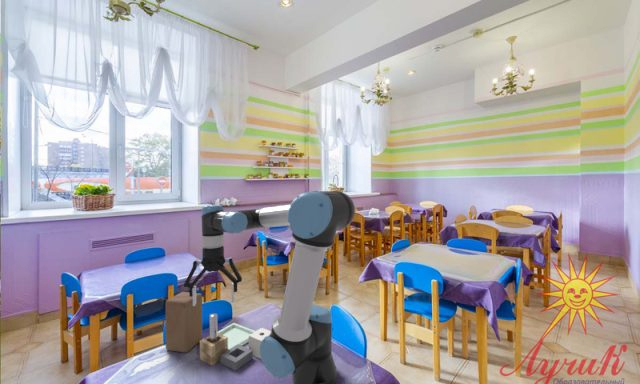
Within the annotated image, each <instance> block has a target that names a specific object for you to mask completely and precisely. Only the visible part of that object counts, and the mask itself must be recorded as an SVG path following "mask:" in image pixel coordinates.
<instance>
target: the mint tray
mask: <svg viewBox="0 0 640 384" xmlns="http://www.w3.org/2000/svg"><path fill="white" fill-rule="evenodd" d="M255 331H256V330H254V329H251V328H249V327H246V326H244V325H240V324H238V323H236V322H233V323H231V324H229V325H227V326H225V327H224V328H222V329H220V330H218V333H219V334H221V335H224V336H226V337H228V350H229V349H231V348H232V347H234V346H236V345H237V344H239V345H241V346H243V347H244V345H246V344H247V343H249V335H251V334H252V333H254V332H255Z"/></svg>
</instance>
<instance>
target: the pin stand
mask: <svg viewBox="0 0 640 384" xmlns="http://www.w3.org/2000/svg"><path fill="white" fill-rule="evenodd" d="M253 357H254V356H253V351H252V350H250V349H249V347H248V348H247V347H245V346H244V345H243V346H241V345H239V344H237V345H236V346H234V347H232V348H231V349H229V350H228V351H226V352H225V353H223V354H222V355H221V360H220V364H221V365H223V366H225V367H227V368H229V369H231V370H232V371H235V372H237V371H238V370H239V369H241V368H242V367H243V366H244V365H246V364H247V363H249V362H250V361H251V360H253Z"/></svg>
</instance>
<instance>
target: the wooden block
mask: <svg viewBox="0 0 640 384" xmlns="http://www.w3.org/2000/svg"><path fill="white" fill-rule="evenodd" d="M202 339H203V294H202V293H199V292H198V293H197V292H196V305H195V306H193V296H192V297H190V295H189V292H188V291H181V292H179V293H178V294H175V295H174V296H171V297H170V298H169V299H167V300H166V301H165V349H166V350H167V351H172V352H180V353H188V352H190V351H191V350H192V349H193V348H194V347H195V346H196V345H198V344H200V340H202Z"/></svg>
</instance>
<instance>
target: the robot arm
mask: <svg viewBox="0 0 640 384" xmlns="http://www.w3.org/2000/svg"><path fill="white" fill-rule="evenodd" d="M355 215H356V206H355V204H354V202H353V199H352V198H351V197H350V195H348V194H347V193H345V192H342V191H338V190H331V191H330V190H329V191H327V190H325V191H324V190H322V191H321V190H320V191H318V190H311V191H306V192H303V193H300V194H299V195H298V196H296V197H295V198H294V199H293V200H292V202H291V203H290V204H282V205H276V206H269V207H260V208H252V209H241V210H240V209H239V210H224V206H223V205H222V204H208V205H203V206H202V208H201V216H200V217H201V234H202V235H201V242H202V244H201V245H202V246H201V247H203V248H202V252H201V253H202V258H201V259H202V260H199V259H195V260H193V262H192V268H191V269H190V271H189V273H188V276H187V277H186V280H185V282H184V284H183V287H184V288H188V289H189V290H188V291H189V295H190V297H192V296H193V306H195V305H196V293H197V285H196V284H197V282H199V280H200V279H201V278H202V277H203V276H204V274H205V273H206V272H208V273H212V272H219V271H220V272H221V273H223V274H224V275H225V276H226V277H227V279H229V280H230V282H231V303H234V302H235V293H237V292H238V283H240V282H242V281H243V277H242V275H241V274H240V272H239V270H238V268H237V267H236V265H235V263H234V259H233V257H232V256H230V257H228V258H226V257H225V247H224V244H225V243H224V242H225V240H224V238H225V236H224V233H228V234H232V235H233V234H242V233H243V231H247V230H253V229H263V228H265V229H266V228H276V227H289V229H290V230H291V233H292V234H291V237H292V239H293V240H294V242H295V245H294V249H293V253H292V254H293V255H292V259H291V264H290V267H289V273H288V277H287V282H286V287H285V290H284V291H285V292H284V294H283V301H282V303H281V310H280V313H279V314H278V315H277V316H275V317H274V319H273V322H272V325H271V330H270V331H271V333H270V335H269V336H266V337H265V338H264V339H263V340H262V341H261V343H260V356H261V360H262V363H263V365H264V367H265V369H266V370H267V371H268V373H270V374H271V375H272V376H273V377H275V378H277V379H286V378H287V377H288V376H290V375H291V377H292V382H293V384H335V383H336V381H337V377H338V374H337V373H338V371H337V366H336V362H335V359H334V357H333V353H332V348H333V347H332V346H333V345H332V343H333V342H332V341H333V340H332V330H333V328H332V325H333V320H332V313H331V311H330V310H329V309H328V308H327V307H326V306H325V307H324V306H321V305H318V304H314V302H315V297H316V292H317V288H318V284H319V280H320V275H321V273H322V272H321V271H322V268H323V264H324V260H325V256H326V251H327V250H329V248H332V247H333V245H334V241H335V238H336V234H337V231H340V230H343V229H346V228H347V227H348V226H350V225H351V223H352V222H353V220H354V218H355ZM225 263H227V265H229V267H230V269H231V271H232V272H233V274H234V275H233V274H232V273H231V272H230V270H229V269H227V267H226V266H225ZM200 265H201V266H202V267H203V268H202V270H201V271H200V272H199V273H198V274H197V276H196V277H195V278H194V279H193V280H192V278H193V276H194V274H195V272H196V270H197V268H198V267H199V266H200ZM191 280H192V281H191Z"/></svg>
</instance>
